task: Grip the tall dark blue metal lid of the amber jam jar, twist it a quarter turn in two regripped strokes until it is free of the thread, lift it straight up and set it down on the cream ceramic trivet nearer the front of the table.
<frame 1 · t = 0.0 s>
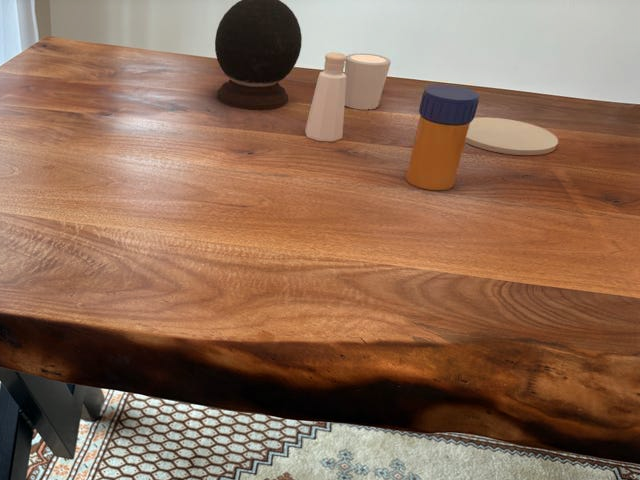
shot glass: (359, 105, 122), on the table
ball on pedestal: (252, 100, 122), on the table
lid: (451, 95, 90), point 11 cm above the table, screwed on, not yet turned
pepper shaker: (322, 137, 109), on the table
trivet: (504, 138, 111), on the table
jar: (429, 181, 96), on the table
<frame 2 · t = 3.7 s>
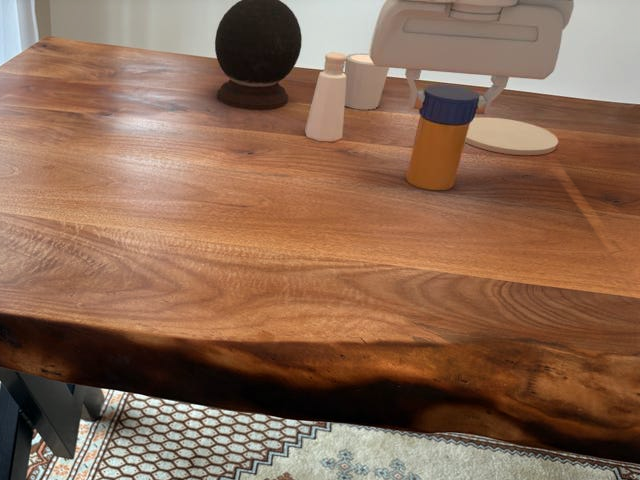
hand: (446, 110, 91), 9 cm above the table, tool pointing down, fingers closed on lid, 6 cm apart
lid: (451, 95, 90), point 11 cm above the table, screwed on, not yet turned, touching gripper
everything else where it was.
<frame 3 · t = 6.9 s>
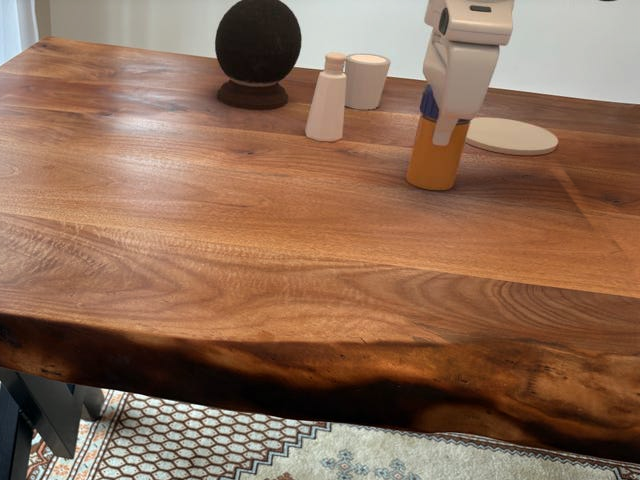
hand: (434, 133, 93), 6 cm above the table, tool pointing down, fingers closed on jar, 6 cm apart
lid: (451, 93, 90), point 11 cm above the table, turned 88° so far, risen 0.2 cm, still on its thread
jar: (429, 181, 96), on the table, touching gripper
everything else where it was.
when the fingers open (6 cm above the table, at t = 6.9 s): jar stays where it is, on the table.
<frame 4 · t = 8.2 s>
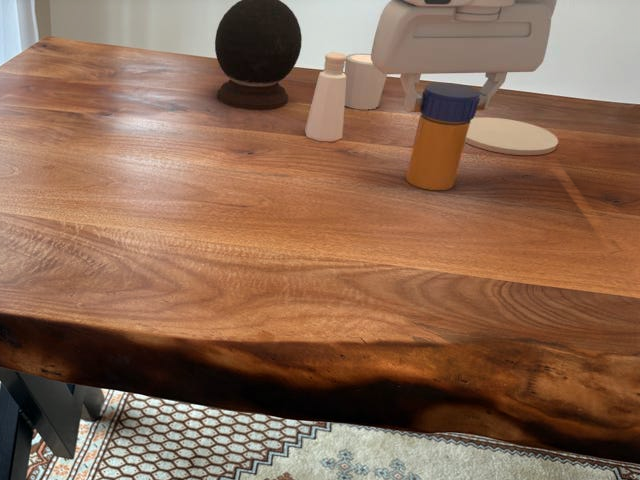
hand: (445, 110, 92), 9 cm above the table, tool pointing down, fingers open, 7 cm apart
jar: (429, 181, 96), on the table
everything else where it was.
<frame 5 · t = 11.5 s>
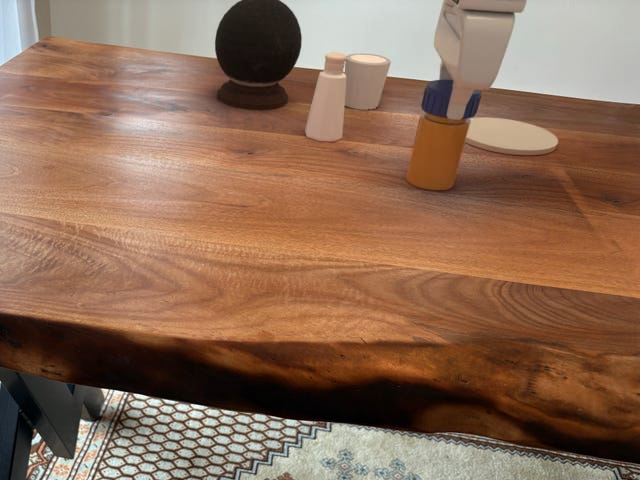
hand: (448, 108, 91), 9 cm above the table, tool pointing down, fingers closed on lid, 6 cm apart
lid: (453, 90, 90), point 11 cm above the table, off its thread, touching gripper
everything else where it was.
when the fingers open (1 cm above the table, at t = 20.2 s): lid stays where it is, resting on trivet.
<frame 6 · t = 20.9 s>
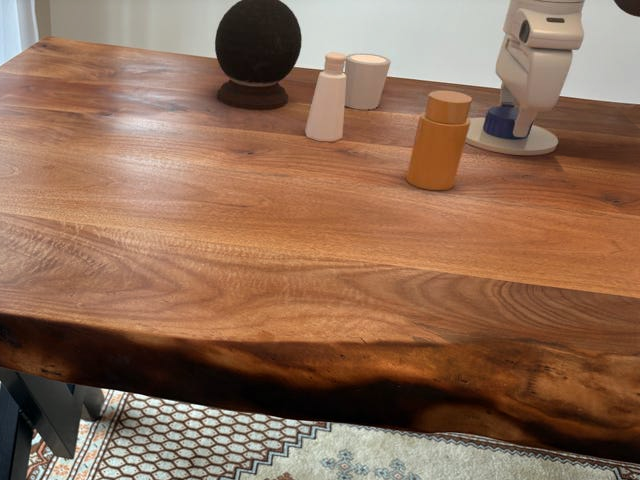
hand: (510, 124, 109), 2 cm above the table, tool pointing down, fingers open, 8 cm apart
lid: (510, 115, 109), point 3 cm above the table, off its thread, touching trivet
everything else where it was.
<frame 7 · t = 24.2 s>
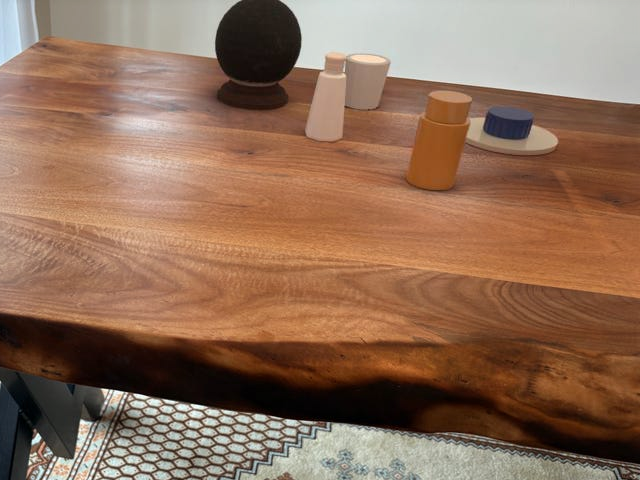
nothing on the table moved.
at the end: lid came off its thread; lid inside the target area on the trivet (0.1 cm from its centre), point 3.2 cm above the trivet's base; the gripper is holding nothing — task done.
